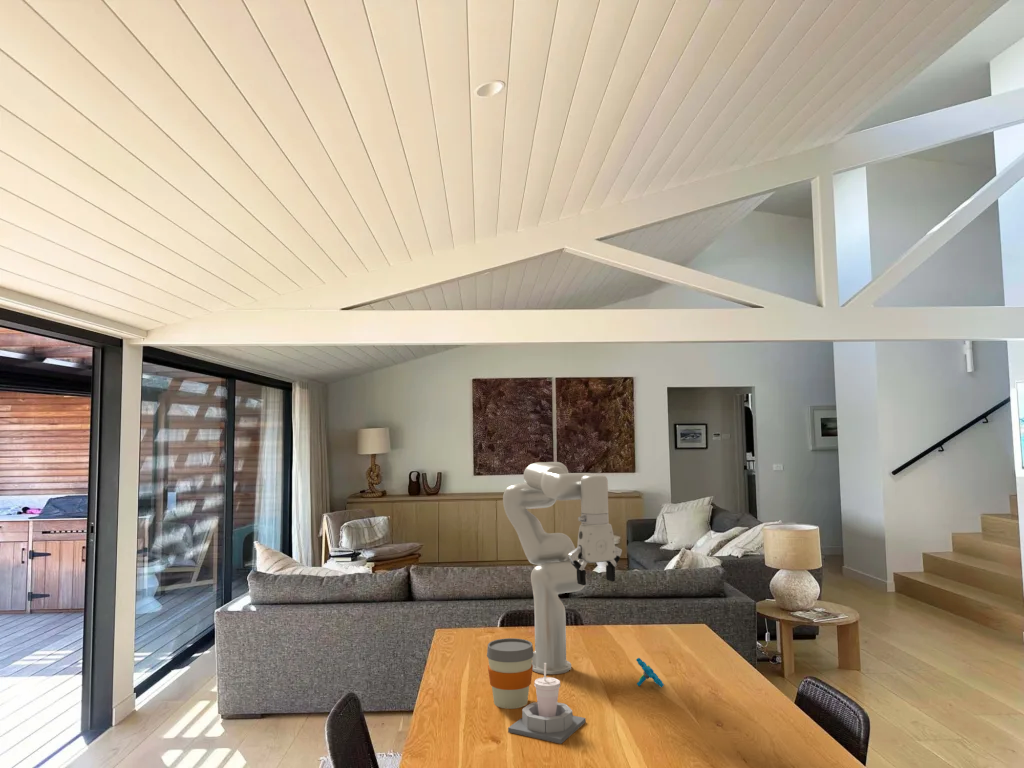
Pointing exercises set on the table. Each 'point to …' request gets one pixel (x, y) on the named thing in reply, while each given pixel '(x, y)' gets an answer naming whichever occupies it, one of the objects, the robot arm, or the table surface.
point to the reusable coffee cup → (510, 671)
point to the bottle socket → (547, 723)
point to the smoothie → (547, 695)
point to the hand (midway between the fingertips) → (596, 582)
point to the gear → (648, 674)
